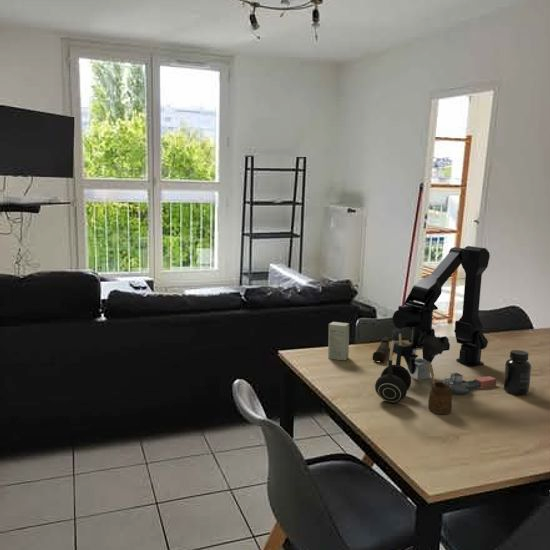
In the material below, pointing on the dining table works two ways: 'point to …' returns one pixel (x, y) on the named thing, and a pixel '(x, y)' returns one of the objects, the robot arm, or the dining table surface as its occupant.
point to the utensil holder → (440, 396)
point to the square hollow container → (421, 369)
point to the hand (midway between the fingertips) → (418, 372)
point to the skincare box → (338, 341)
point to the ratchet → (467, 383)
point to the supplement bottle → (517, 373)
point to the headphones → (394, 376)
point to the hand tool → (381, 350)
